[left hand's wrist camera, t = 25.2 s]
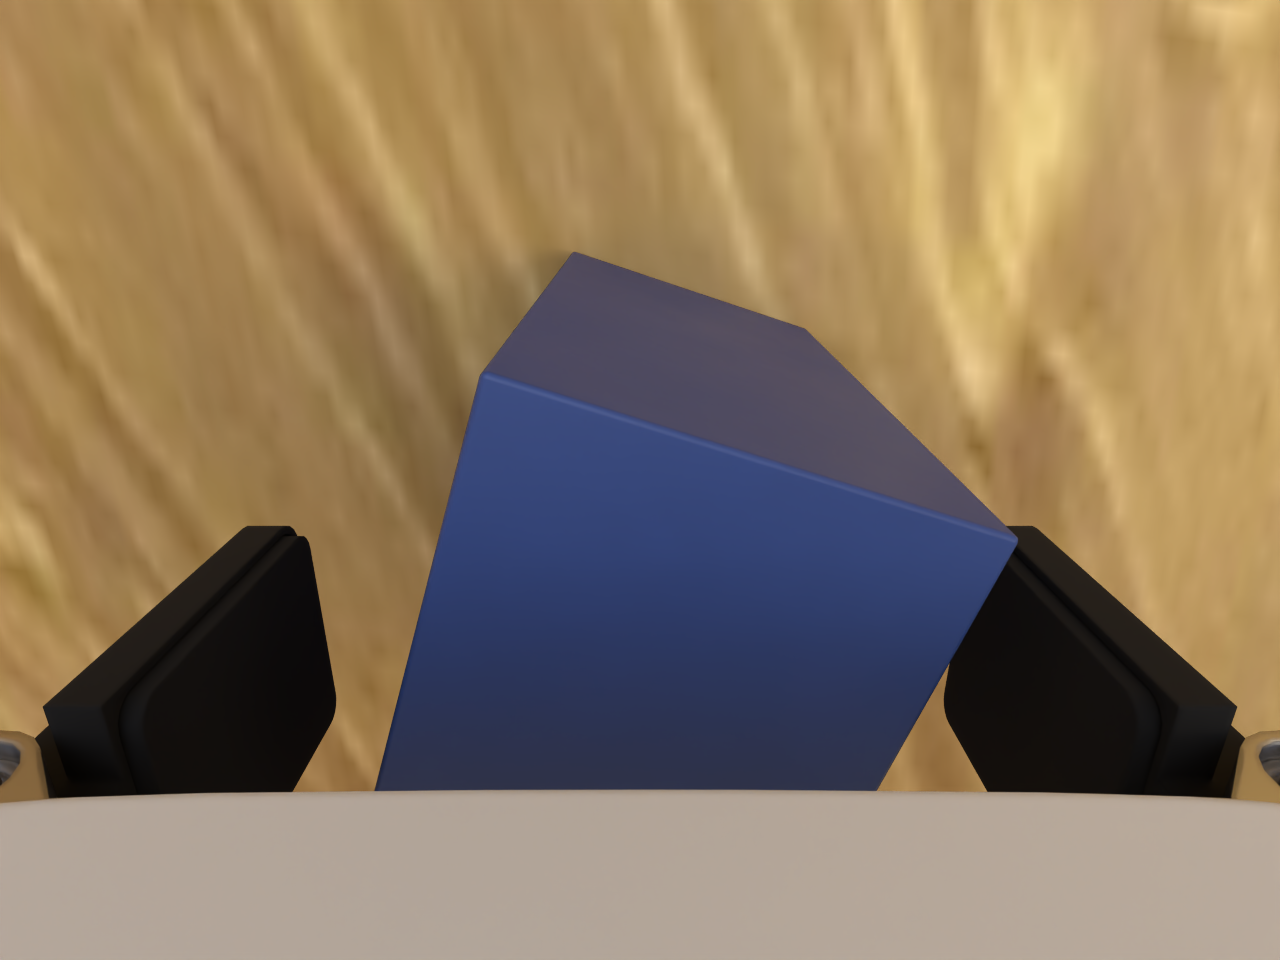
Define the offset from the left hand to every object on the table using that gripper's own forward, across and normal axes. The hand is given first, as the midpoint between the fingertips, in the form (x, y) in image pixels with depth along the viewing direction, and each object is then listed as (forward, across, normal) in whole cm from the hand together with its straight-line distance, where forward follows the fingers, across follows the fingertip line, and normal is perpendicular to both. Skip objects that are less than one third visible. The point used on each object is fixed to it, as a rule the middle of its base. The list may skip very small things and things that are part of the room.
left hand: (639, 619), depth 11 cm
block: (+7, 0, 0) cm, 7 cm away
